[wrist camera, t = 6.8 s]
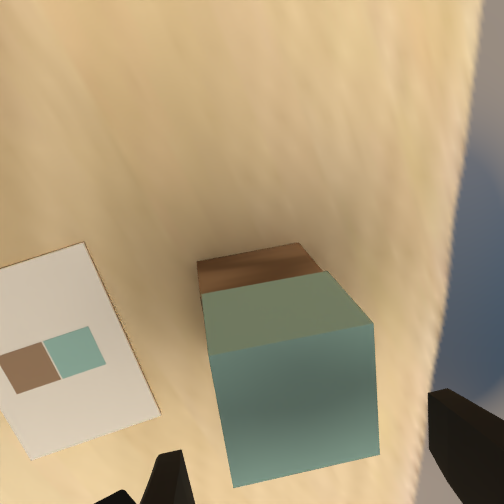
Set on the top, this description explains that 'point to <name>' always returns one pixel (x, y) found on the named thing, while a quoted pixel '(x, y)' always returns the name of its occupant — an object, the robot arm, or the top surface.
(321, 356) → the teal block
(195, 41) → the top surface
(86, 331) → the page
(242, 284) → the walnut block
